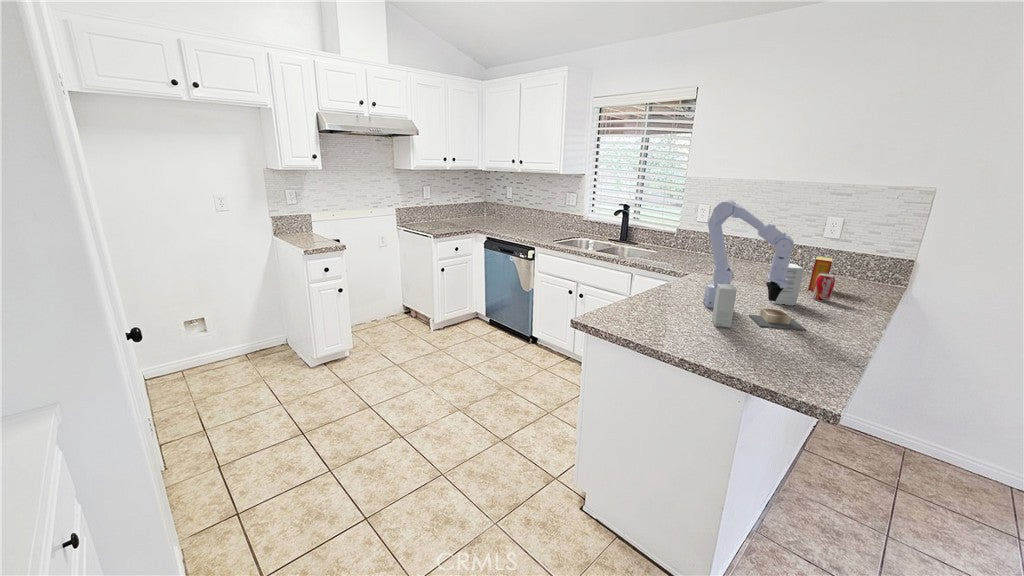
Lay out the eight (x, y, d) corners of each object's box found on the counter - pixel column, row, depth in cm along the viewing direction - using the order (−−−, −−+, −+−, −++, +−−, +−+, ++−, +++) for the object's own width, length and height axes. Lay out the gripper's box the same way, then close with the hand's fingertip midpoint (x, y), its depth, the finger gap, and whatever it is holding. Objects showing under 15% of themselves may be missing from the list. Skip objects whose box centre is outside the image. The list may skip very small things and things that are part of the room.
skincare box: (730, 328, 160) (738, 290, 155) (713, 326, 161) (720, 288, 157) (727, 320, 167) (734, 284, 163) (710, 318, 169) (717, 282, 165)
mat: (759, 326, 162) (760, 325, 162) (748, 315, 174) (749, 314, 173) (806, 330, 160) (806, 329, 160) (792, 319, 171) (792, 318, 171)
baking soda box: (809, 286, 220) (817, 255, 215) (825, 288, 216) (833, 257, 211) (808, 290, 212) (815, 258, 208) (824, 292, 209) (832, 260, 204)
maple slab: (758, 314, 174) (767, 322, 166) (760, 307, 173) (768, 314, 165) (780, 316, 172) (789, 324, 164) (782, 309, 172) (791, 316, 164)
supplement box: (796, 306, 188) (805, 268, 183) (773, 304, 189) (781, 266, 184) (787, 299, 197) (795, 263, 192) (765, 297, 198) (773, 261, 193)
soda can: (813, 301, 195) (819, 275, 192) (809, 296, 202) (815, 272, 198) (831, 303, 193) (838, 277, 189) (827, 299, 199) (833, 273, 196)
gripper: (798, 272, 160) (790, 307, 164) (782, 263, 174) (775, 295, 178) (778, 271, 162) (770, 305, 166) (764, 262, 175) (757, 294, 179)
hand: (771, 300), depth 172 cm, fingers closed
